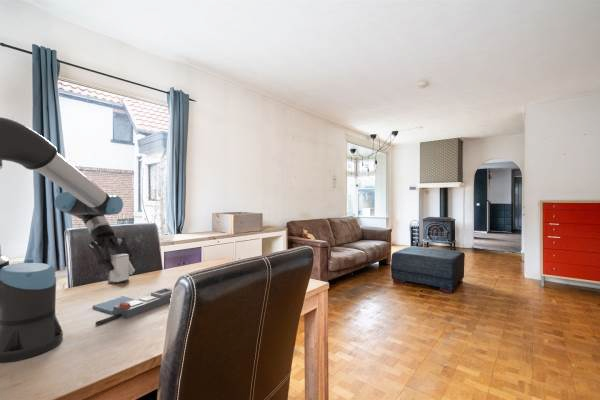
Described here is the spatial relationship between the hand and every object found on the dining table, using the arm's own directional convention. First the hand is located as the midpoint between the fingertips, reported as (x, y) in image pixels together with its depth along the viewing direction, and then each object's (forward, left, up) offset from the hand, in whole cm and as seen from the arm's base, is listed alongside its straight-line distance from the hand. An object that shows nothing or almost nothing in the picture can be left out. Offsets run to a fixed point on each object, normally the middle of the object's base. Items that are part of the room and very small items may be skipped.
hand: (125, 274), depth 113 cm
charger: (0, +4, -3) cm, 5 cm away
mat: (-1, +3, -13) cm, 13 cm away
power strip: (+1, -8, -13) cm, 15 cm away
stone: (+20, +35, -13) cm, 43 cm away
